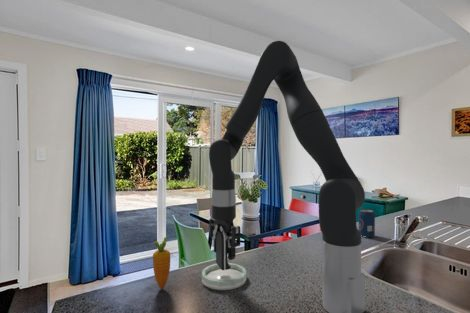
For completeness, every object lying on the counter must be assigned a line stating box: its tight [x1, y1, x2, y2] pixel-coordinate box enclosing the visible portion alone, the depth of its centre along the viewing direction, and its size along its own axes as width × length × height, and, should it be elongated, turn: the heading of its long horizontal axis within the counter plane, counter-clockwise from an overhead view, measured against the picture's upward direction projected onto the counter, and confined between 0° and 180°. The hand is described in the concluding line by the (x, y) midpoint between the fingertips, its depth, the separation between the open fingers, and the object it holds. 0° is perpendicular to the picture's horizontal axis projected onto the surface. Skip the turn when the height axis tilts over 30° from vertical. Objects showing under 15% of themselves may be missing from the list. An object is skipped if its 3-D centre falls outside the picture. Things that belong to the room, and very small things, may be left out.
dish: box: [201, 262, 248, 291], centre depth 89 cm, size 14×14×2 cm
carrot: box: [152, 236, 171, 290], centre depth 83 cm, size 5×5×15 cm
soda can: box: [358, 208, 376, 238], centre depth 133 cm, size 7×7×12 cm
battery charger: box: [215, 230, 232, 270], centre depth 89 cm, size 7×4×11 cm, turn 21°
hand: (224, 255), depth 89 cm, fingers closed on battery charger, 7 cm apart
